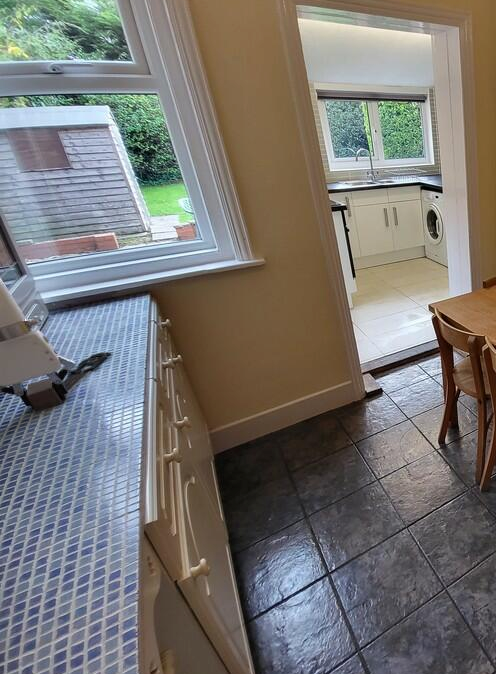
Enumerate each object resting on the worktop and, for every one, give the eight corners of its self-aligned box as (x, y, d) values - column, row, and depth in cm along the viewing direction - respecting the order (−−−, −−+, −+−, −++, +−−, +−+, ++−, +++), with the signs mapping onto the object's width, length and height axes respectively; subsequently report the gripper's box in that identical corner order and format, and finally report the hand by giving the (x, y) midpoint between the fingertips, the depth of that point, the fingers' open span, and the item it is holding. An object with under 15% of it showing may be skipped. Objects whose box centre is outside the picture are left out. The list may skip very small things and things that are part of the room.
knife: (58, 405, 95) (55, 400, 94) (24, 411, 94) (21, 406, 93) (119, 354, 117) (117, 349, 117) (92, 358, 116) (90, 353, 115)
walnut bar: (62, 404, 94) (51, 388, 92) (37, 412, 92) (26, 396, 90) (62, 392, 99) (52, 376, 97) (38, 400, 96) (27, 384, 94)
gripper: (59, 314, 95) (97, 380, 103) (-54, 341, 85) (-3, 412, 92) (59, 323, 90) (99, 392, 98) (-61, 352, 80) (-6, 427, 88)
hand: (49, 401), depth 95 cm, fingers closed on walnut bar, 4 cm apart
